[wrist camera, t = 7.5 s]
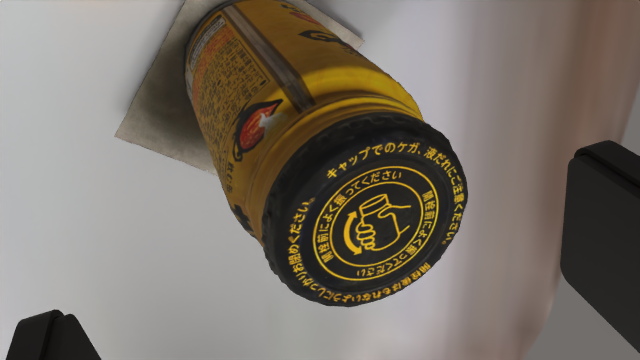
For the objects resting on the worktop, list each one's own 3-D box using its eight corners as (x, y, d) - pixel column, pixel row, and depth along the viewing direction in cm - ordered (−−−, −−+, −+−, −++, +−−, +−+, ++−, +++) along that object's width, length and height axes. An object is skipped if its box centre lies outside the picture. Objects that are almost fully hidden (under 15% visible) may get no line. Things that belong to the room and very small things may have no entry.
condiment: (362, 39, 23) (551, 168, 13) (263, 193, 25) (363, 400, 16) (215, -60, 19) (330, 21, 10) (113, 133, 21) (122, 357, 12)
